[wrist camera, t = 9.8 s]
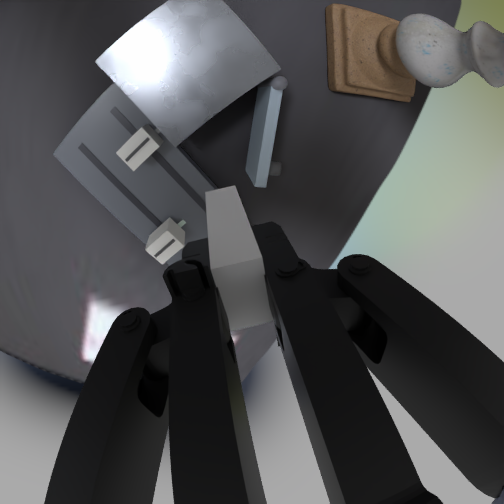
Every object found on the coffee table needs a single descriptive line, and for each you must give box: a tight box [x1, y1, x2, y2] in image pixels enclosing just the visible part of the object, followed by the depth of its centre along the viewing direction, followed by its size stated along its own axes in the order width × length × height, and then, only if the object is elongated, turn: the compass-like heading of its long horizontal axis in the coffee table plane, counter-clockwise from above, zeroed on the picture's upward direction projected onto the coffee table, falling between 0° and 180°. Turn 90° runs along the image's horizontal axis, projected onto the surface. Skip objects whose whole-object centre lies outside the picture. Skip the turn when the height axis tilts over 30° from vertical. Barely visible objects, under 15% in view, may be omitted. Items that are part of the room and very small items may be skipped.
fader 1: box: [116, 124, 164, 171], centre depth 22 cm, size 2×3×3 cm
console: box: [53, 82, 218, 266], centre depth 27 cm, size 22×10×2 cm, turn 37°
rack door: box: [245, 76, 288, 188], centre depth 24 cm, size 3×10×7 cm, turn 172°
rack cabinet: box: [95, 0, 281, 148], centre depth 19 cm, size 10×10×8 cm
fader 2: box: [145, 217, 185, 264], centre depth 27 cm, size 2×3×3 cm
